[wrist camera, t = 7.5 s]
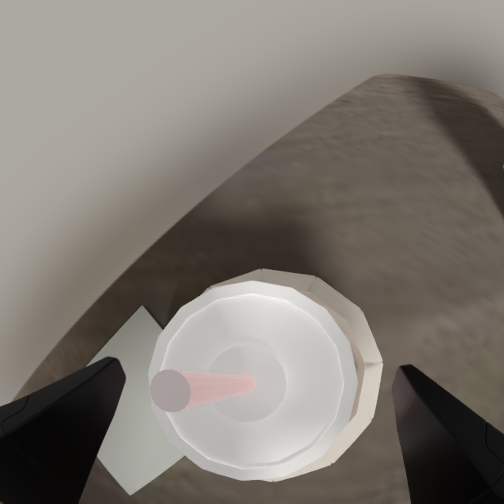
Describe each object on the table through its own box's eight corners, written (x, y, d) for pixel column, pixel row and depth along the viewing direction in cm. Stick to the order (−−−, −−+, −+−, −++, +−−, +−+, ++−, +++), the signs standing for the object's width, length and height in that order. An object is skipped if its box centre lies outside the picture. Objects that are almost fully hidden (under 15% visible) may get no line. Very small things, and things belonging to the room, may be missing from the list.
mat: (131, 494, 12) (129, 495, 12) (61, 397, 16) (59, 397, 16) (238, 407, 15) (237, 408, 15) (143, 306, 19) (142, 305, 19)
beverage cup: (217, 424, 14) (19, 496, 2) (223, 329, 17) (59, 184, 4) (320, 428, 13) (413, 576, 1) (323, 330, 16) (412, 155, 3)
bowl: (343, 473, 12) (352, 489, 9) (165, 435, 15) (144, 442, 12) (375, 300, 17) (389, 285, 14) (205, 275, 20) (192, 257, 17)
